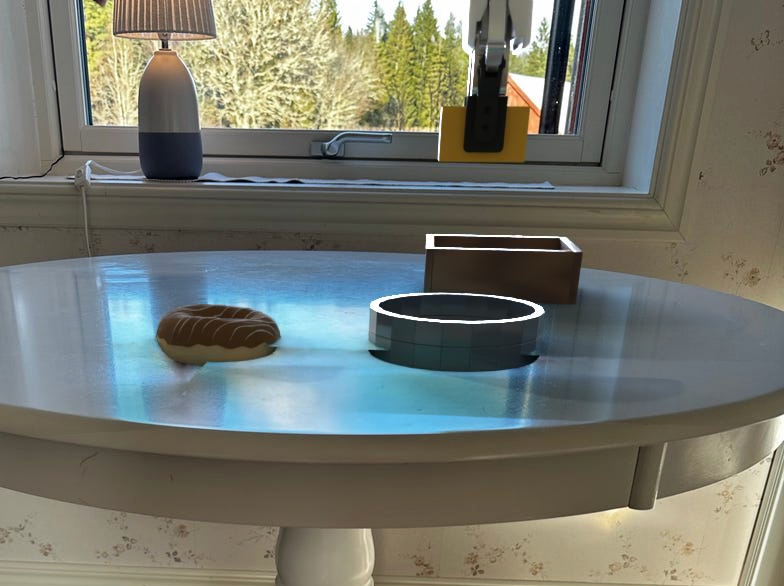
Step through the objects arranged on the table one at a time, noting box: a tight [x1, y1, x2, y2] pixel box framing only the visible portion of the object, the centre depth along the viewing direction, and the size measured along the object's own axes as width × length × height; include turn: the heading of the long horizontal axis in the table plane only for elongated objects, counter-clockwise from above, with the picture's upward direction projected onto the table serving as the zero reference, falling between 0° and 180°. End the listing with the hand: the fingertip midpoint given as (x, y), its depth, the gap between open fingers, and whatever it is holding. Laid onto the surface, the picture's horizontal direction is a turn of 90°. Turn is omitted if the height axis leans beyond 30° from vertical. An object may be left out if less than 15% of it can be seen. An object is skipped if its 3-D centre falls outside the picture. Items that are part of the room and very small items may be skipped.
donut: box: [155, 303, 282, 367], centre depth 81 cm, size 11×11×4 cm
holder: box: [422, 233, 584, 306], centre depth 104 cm, size 16×14×7 cm
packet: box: [437, 105, 531, 163], centre depth 79 cm, size 7×4×4 cm, turn 84°
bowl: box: [367, 292, 546, 373], centre depth 81 cm, size 14×14×4 cm
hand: (481, 148), depth 80 cm, fingers closed on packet, 4 cm apart
